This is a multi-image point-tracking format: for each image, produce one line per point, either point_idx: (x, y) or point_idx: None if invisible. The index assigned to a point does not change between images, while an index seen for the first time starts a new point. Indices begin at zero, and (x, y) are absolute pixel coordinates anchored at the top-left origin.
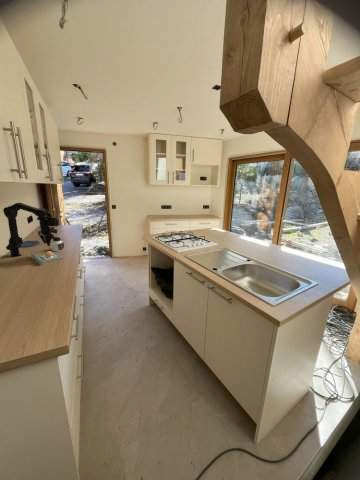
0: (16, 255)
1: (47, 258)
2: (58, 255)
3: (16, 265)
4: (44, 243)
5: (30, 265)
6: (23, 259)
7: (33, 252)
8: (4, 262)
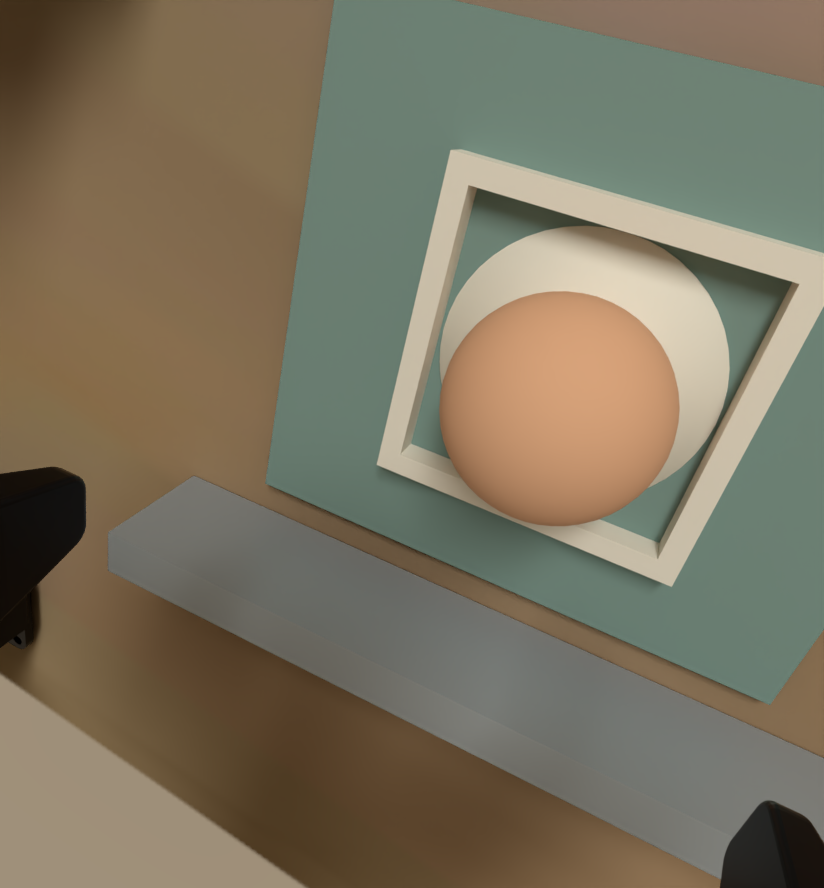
0: (20, 609)
1: (698, 532)
2: (693, 80)
3: (442, 876)
4: (78, 533)
5: (668, 856)
6: (237, 652)
7: (168, 564)
8: (185, 803)
